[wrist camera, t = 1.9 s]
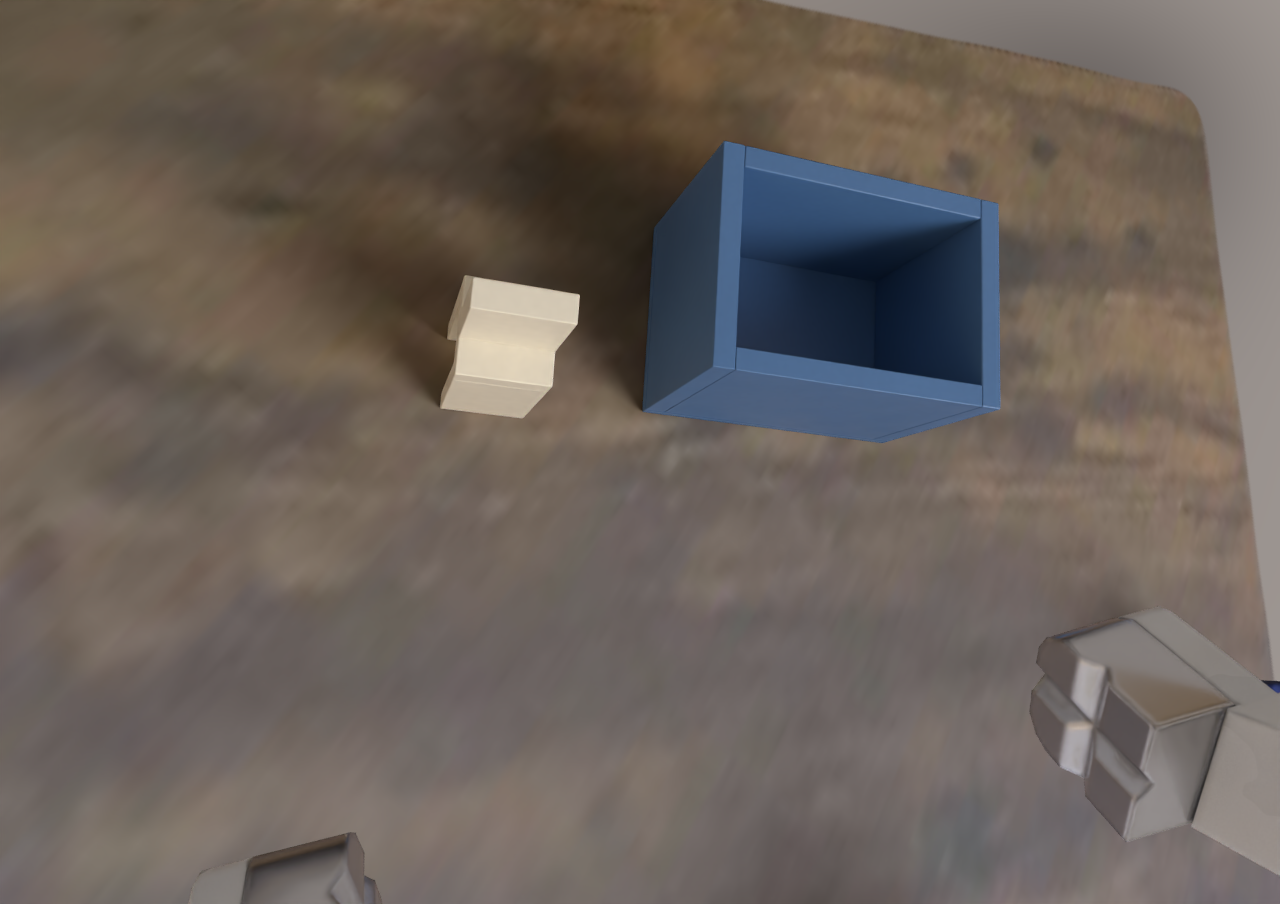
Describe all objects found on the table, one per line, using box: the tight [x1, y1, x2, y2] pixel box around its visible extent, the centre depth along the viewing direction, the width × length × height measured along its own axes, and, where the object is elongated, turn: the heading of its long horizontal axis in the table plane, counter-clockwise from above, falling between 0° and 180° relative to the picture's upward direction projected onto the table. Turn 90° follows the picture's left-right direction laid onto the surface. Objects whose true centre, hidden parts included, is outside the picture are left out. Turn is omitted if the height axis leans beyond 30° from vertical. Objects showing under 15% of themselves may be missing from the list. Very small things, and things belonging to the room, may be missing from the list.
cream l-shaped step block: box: [440, 275, 580, 418], centre depth 38 cm, size 4×4×11 cm
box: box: [642, 141, 1000, 443], centre depth 43 cm, size 14×10×10 cm
